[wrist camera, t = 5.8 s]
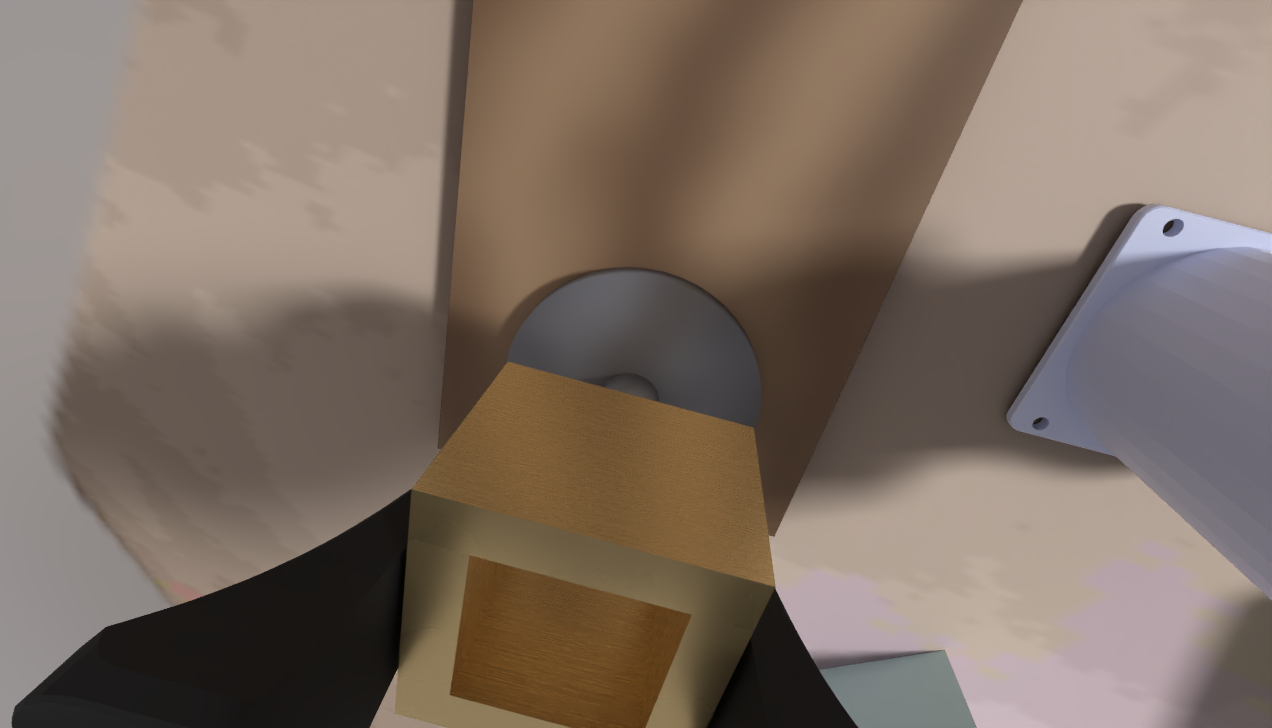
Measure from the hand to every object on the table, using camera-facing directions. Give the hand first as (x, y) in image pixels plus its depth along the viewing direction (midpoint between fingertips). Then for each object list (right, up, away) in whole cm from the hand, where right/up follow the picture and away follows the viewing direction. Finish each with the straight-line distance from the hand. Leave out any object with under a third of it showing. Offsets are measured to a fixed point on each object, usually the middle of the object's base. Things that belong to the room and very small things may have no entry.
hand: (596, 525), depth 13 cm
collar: (0, +1, +1) cm, 1 cm away
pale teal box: (+12, -16, +17) cm, 26 cm away
